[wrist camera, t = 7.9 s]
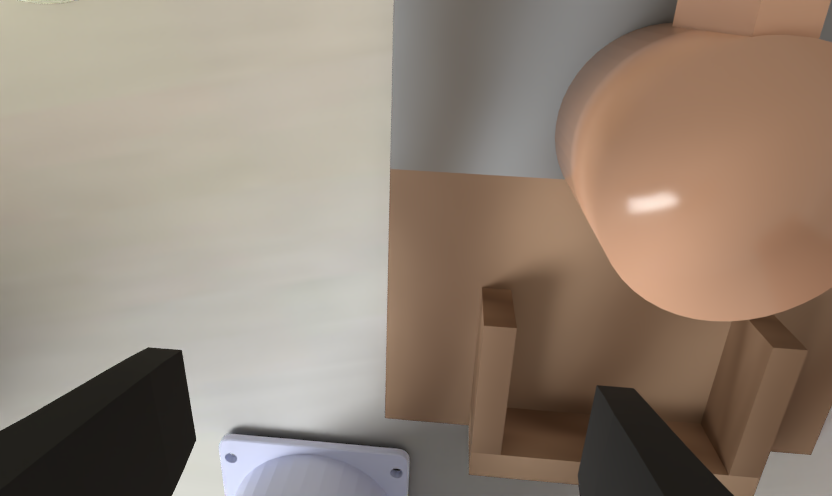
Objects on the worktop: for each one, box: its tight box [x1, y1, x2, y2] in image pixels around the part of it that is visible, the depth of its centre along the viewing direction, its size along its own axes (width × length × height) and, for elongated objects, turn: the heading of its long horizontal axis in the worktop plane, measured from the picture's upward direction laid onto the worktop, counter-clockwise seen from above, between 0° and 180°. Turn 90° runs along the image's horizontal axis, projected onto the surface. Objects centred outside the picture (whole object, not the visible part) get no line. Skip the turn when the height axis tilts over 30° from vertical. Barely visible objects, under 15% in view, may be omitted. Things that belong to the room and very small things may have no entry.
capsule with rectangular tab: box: [555, 0, 832, 322], centre depth 14 cm, size 6×9×6 cm, turn 178°
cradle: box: [385, 0, 832, 496], centre depth 17 cm, size 16×20×3 cm
